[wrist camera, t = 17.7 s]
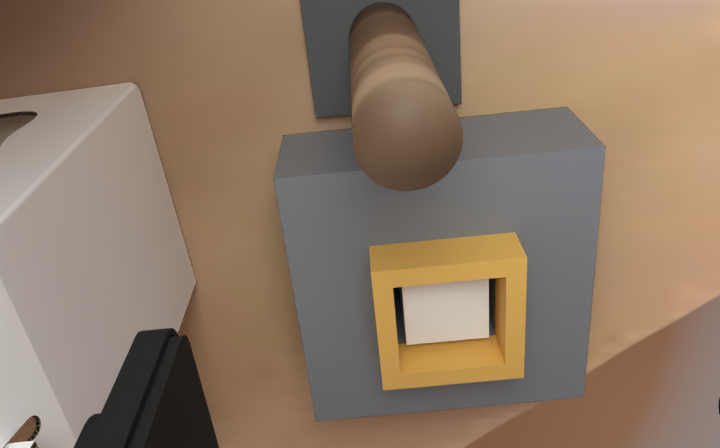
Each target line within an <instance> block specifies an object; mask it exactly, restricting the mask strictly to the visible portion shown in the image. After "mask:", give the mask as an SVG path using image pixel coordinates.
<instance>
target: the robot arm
mask: <svg viewBox="0 0 720 448" xmlns="http://www.w3.org/2000/svg"><path fill="white" fill-rule="evenodd" d="M719 413H720V399H719ZM74 448H219V446H218V443H217V439H216V435H215V432H214V428H213V425H212V421H211V417H210V414H209V410H208V407H207V403H206V400H205V396H204V392H203V389H202V385H201V382H200V378H199V375H198V371H197V367H196V364H195V360H194V357H193V353H192V350H191V346H190V342H189V340H188V338H187V336H185V335H183V336H178V334H177V332H176V331H175V329H173V328H166V329H155V330H144V331H140V332H138V333H137V335H136V336H135V338H134V340H133V343H132V345H131V347H130V349H129V352H128V354H127V356H126V358H125V360H124V363H123V365H122V367H121V369H120V372H119V374H118V376H117V378H116V380H115V383H114V385H113V387H112V389H111V392H110V394H109V396H108V398H107V401H106V403H105V405H104V407H103V409H102V412H101V413H99V414H93V415H92V416H91V417H89V418H88V420H87V421H86V423H85V425H84V426H83V429H82V431H81V433H80V435H79V437H78V439H77V441H76V443H75V446H74Z"/></svg>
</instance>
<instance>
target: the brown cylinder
mask: <svg viewBox="0 0 720 448" xmlns="http://www.w3.org/2000/svg"><path fill="white" fill-rule="evenodd" d="M349 48H350V76H351V103H352V131H353V149H354V154H355V157H356V160H357V162H358V164H359V166H360V168H361V169H362V171H363V172H364V173H365V174H366V175H367V176H368V177H369V178H370V179H371V180H372V181H374V182H375V183H377V184H378V185H381V186H383V187H385V188H388V189H391V190H396V191H415V190H420V189H424V188H427V187H429V186H431V185H433V184H435V183H437V182H438V181H440V180H441V179H442V178H444V177H445V176H446V175H447V174H448V173H449V172H450V171H451V169H452V168H453V167H454V165H455V164H456V162H457V160H458V158H459V156H460V153H461V150H462V145H463V129H462V125H461V121H460V119H459V116H458V114H457V112H456V110H455V108H454V106H453V104H452V102H451V100H450V97H449V95H448V93H447V91H446V89H445V87H444V85H443V83H442V81H441V79H440V76H439V74H438V72H437V70H436V68H435V66H434V64H433V62H432V60H431V58H430V56H429V53H428V51H427V49H426V47H425V45H424V43H423V41H422V39H421V37H420V35H419V32H418V30H417V28H416V26H415V24H414V22H413V20H412V18H411V17H410V15H409V14H408V13H407V12H406V11H405V10H404V9H403V8H401V7H399V6H398V5H395V4H392V3H387V2H379V3H375V4H371V5H369V6H367V7H366V8H364V9H363V10H361V11H360V12H359V13H358V14H357V16H356V17H355V19H354V20H353V22H352V25H351V27H350V32H349Z"/></svg>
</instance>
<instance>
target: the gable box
mask: <svg viewBox="0 0 720 448" xmlns="http://www.w3.org/2000/svg"><path fill="white" fill-rule="evenodd" d="M195 284H196V279H195V276H194V273H193V269H192V266H191V262H190V259H189V255H188V252H187V249H186V245H185V242H184V238H183V235H182V232H181V228H180V225H179V221H178V218H177V215H176V211H175V208H174V204H173V201H172V198H171V194H170V191H169V187H168V184H167V181H166V177H165V174H164V170H163V167H162V164H161V160H160V157H159V153H158V150H157V147H156V143H155V140H154V136H153V133H152V130H151V126H150V123H149V119H148V116H147V113H146V109H145V106H144V102H143V99H142V96H141V92H140V89H139V87H138V86H137V85H135V84H134V83H132V82H129V83H121V84H114V85H106V86H99V87H91V88H84V89H76V90H69V91H61V92H53V93H46V94H38V95H31V96H23V97H16V98H8V99H1V100H0V448H74V446H75V443H76V441H77V439H78V437H79V435H80V433H81V431H82V429H83V426H84V425H85V423H86V421H87V420H88V418H89V417H91V416H92V415H93V414H99V413H101V412H102V409H103V407H104V405H105V403H106V401H107V398H108V396H109V394H110V392H111V389H112V387H113V385H114V383H115V380H116V378H117V376H118V374H119V372H120V369H121V367H122V365H123V363H124V360H125V358H126V356H127V354H128V352H129V349H130V347H131V345H132V343H133V340H134V338H135V336H136V335H137V333H138V332H140V331H144V330H155V329H166V328H173V329H175V331H176V332H177V334H178V331H179V328H180V326H181V323H182V320H183V317H184V314H185V312H186V309H187V306H188V303H189V301H190V298H191V295H192V292H193V289H194V287H195ZM31 416H33V417H34V418H35V421H36V426H35V430H34V432H33V434H32V435H31V436H30V438H29V439H28V440H27V441H26V442H18V443H9V444H6V443H7V442H8V441H9V440H10V439H11V438H12V436H13V435H14V434H15V433H16V432H17V431H18V430H19V429H20V428H21V426H22V425H23V424H24V423H25V422H26V421H27V420H28V419H29V418H30V417H31Z"/></svg>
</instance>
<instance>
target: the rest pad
mask: <svg viewBox="0 0 720 448" xmlns="http://www.w3.org/2000/svg"><path fill="white" fill-rule="evenodd" d="M379 2H387V3H392V4H395V5H398V6H399V7H401V8H403V9H404V10H405V11H406V12H407V13H408V14H409V15H410V17H411V18H412V20H413V22H414V24H415V26H416V28H417V30H418V32H419V35H420V37H421V39H422V41H423V43H424V45H425V47H426V49H427V51H428V53H429V56H430V58H431V60H432V62H433V64H434V66H435V68H436V70H437V72H438V74H439V76H440V79H441V81H442V83H443V85H444V87H445V89H446V91H447V93H448V95H449V97H450V100H451V102H452V104H458V103H461V73H460V31H459V0H300V3H301V10H302V18H303V25H304V32H305V40H306V47H307V55H308V62H309V69H310V77H311V84H312V92H313V99H314V106H315V114H316V118H319V117H329V116H339V115H349V114H352V103H351V76H350V48H349V32H350V27H351V25H352V22H353V20H354V19H355V17H356V16H357V14H358V13H359V12H360V11H361V10H363V9H364V8H366V7H367V6H369V5H371V4H375V3H379Z"/></svg>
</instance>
